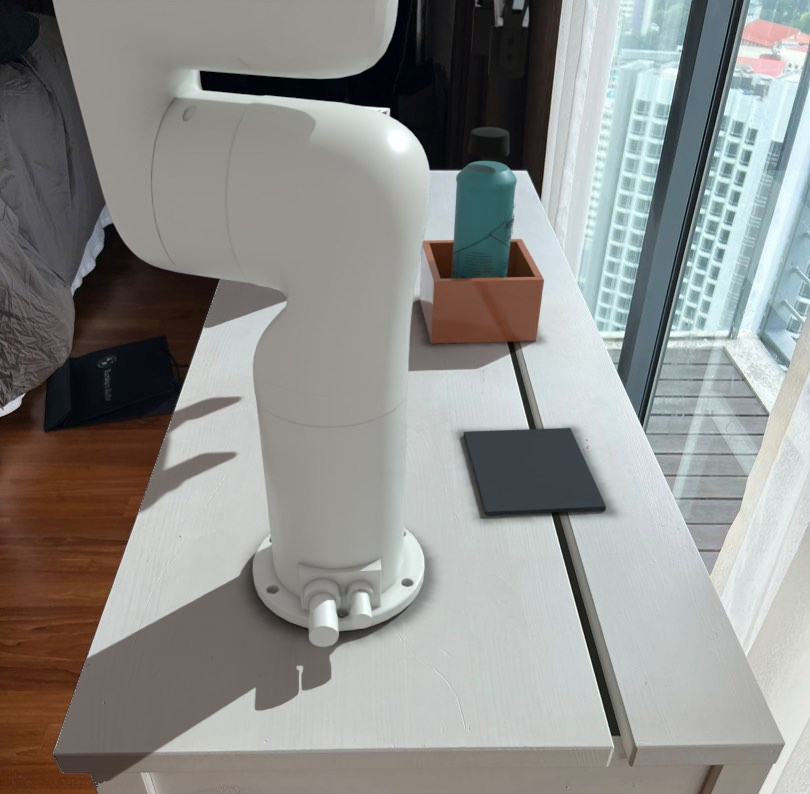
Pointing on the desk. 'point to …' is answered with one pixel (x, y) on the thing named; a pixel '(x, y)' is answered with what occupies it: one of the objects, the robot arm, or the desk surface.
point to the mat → (531, 472)
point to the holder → (479, 298)
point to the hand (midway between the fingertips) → (495, 65)
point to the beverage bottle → (484, 209)
